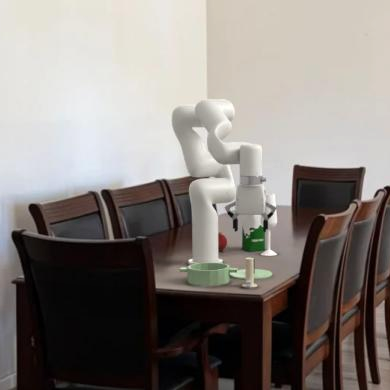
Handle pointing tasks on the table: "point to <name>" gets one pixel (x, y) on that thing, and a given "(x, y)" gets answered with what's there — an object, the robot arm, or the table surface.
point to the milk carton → (252, 233)
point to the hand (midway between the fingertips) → (250, 231)
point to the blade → (249, 273)
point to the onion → (221, 241)
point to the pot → (208, 273)
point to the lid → (257, 273)
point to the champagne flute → (269, 222)
